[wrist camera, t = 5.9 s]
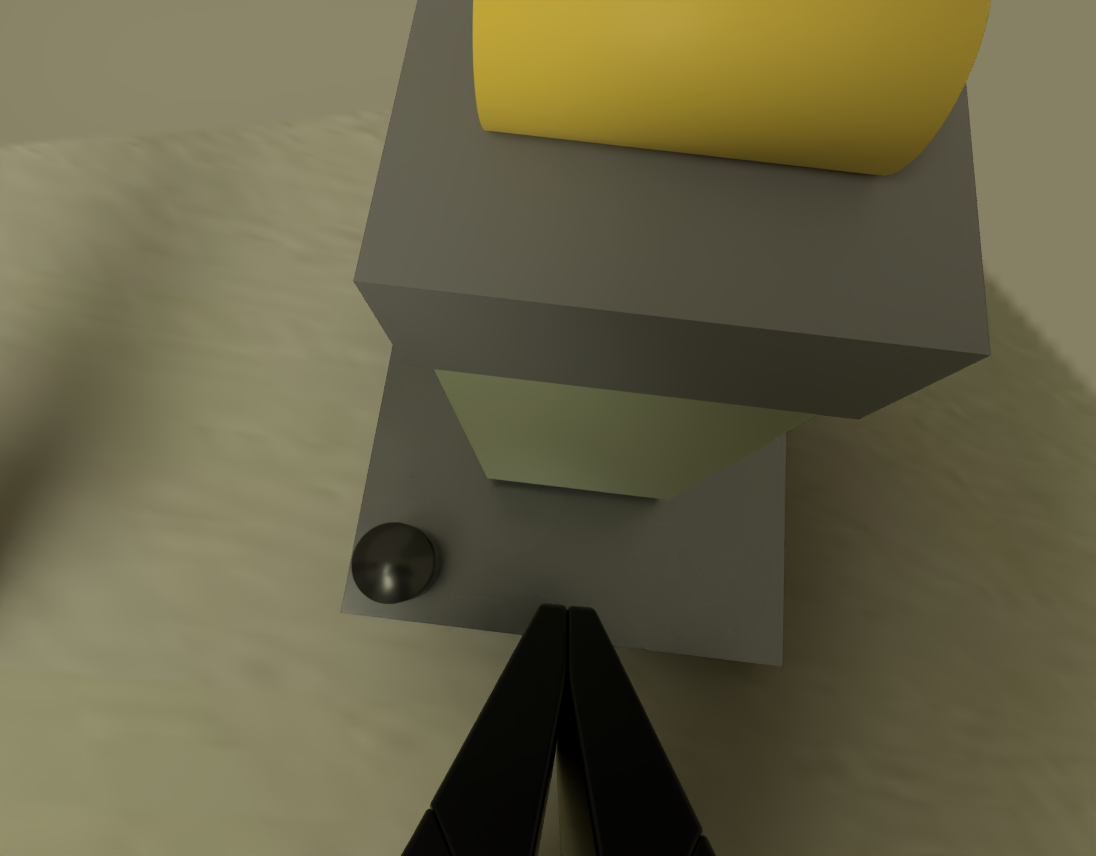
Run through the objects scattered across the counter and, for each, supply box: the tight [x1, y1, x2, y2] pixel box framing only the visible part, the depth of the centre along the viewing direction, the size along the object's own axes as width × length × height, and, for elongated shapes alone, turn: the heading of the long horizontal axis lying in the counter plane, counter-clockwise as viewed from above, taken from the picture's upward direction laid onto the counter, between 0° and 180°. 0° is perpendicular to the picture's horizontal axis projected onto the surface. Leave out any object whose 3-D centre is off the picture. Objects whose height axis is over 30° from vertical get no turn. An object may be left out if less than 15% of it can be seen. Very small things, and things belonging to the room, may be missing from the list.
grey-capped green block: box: [353, 0, 991, 500], centre depth 10 cm, size 4×5×12 cm
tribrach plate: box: [340, 346, 787, 667], centre depth 17 cm, size 12×12×3 cm
